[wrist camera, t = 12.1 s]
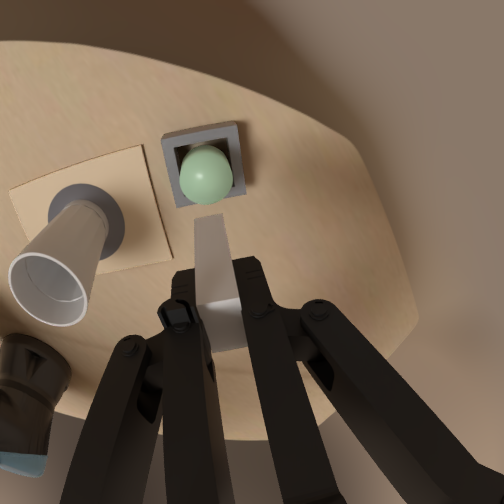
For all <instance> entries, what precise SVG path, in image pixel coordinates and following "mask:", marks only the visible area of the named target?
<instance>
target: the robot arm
mask: <svg viewBox="0 0 504 504" xmlns="http://www.w3.org/2000/svg"><path fill="white" fill-rule="evenodd" d="M194 248H195V268H193V269H187V270H182V271H177V272H176V274H175V275H174V277H173V279H172V286H171V288H172V289H171V299H168V300H167V301H165V302H163V303H162V304H161V306H160V307H159V309H158V312H157V314H158V316H159V318H160V320H161V322H162V325H163V327H164V330H163V331H162V332H161V333H159V334H157V335H155V336H153V337H151V338H148V339H146V340H145V339H144V338H143V337H142V336H139V335H129V336H126V337H124V338H123V339H121V340H120V341H119V342H118V343H117V345H116V346H115V348H114V350H113V353H112V355H111V357H110V360H109V362H108V364H107V367H106V369H105V372H104V374H103V377H102V379H101V381H100V384H99V386H98V389H97V392H96V394H95V397H94V399H93V402H92V404H91V407H90V410H89V412H88V415H87V418H86V421H85V424H84V426H83V429H82V432H81V435H80V438H79V441H78V444H77V447H76V450H75V453H74V456H73V459H72V462H71V465H70V468H69V472H68V475H67V479H66V482H65V485H64V489H63V493H62V496H61V500H60V504H142V502H143V497H144V492H145V488H146V483H147V478H148V474H149V469H150V464H151V461H152V456H153V452H154V448H155V443H156V439H157V435H158V431H159V427H160V423H161V419H162V415H163V446H164V447H163V448H164V468H165V483H166V496H167V504H235V500H234V495H233V489H232V483H231V477H230V471H229V465H228V459H227V453H226V446H225V440H224V433H223V426H222V420H221V412H220V405H219V397H218V390H217V382H216V374H215V365H214V362H213V359H212V356H211V350H212V353H216V352H221V351H227V350H232V349H238V348H243V347H248V348H249V353H250V358H251V363H252V367H253V372H254V377H255V381H256V386H257V391H258V395H259V400H260V404H261V409H262V413H263V418H264V422H265V427H266V431H267V435H268V440H269V444H270V448H271V453H272V457H273V461H274V465H275V470H276V474H277V478H278V482H279V486H280V490H281V494H282V499H283V502H284V504H347V503H346V501H345V499H344V497H343V496H342V495H341V493H340V492H339V489H338V487H337V484H336V481H335V478H334V475H333V472H332V469H331V465H330V463H329V459H328V457H327V453H326V450H325V447H324V444H323V441H322V438H321V435H320V432H319V429H318V426H317V423H316V420H315V417H314V414H313V411H312V408H311V405H310V402H309V399H308V396H307V393H306V390H305V387H304V383H303V380H302V377H301V374H300V371H299V368H298V365H297V363H296V361H302V363H303V364H304V366H305V367H306V369H307V370H308V371H309V373H310V374H311V376H312V377H313V378H314V380H315V381H316V383H317V384H318V385H319V387H320V388H321V390H322V391H323V392H324V394H325V395H326V396H327V398H328V399H329V401H330V402H331V403H332V405H333V406H334V407H335V409H336V410H337V412H338V413H339V414H340V416H341V417H342V418H343V420H344V421H345V423H346V424H347V425H348V427H349V428H350V429H351V430H352V432H353V433H354V435H355V436H356V437H357V439H358V440H359V442H360V443H361V444H362V445H363V447H364V448H365V450H366V451H367V452H368V454H369V455H370V456H371V458H372V459H373V460H374V462H375V463H376V464H377V466H378V467H379V468H380V470H381V471H382V472H383V473H384V475H385V476H386V477H387V479H388V480H389V481H390V483H391V484H392V485H393V487H394V488H395V489H396V490H397V492H398V493H399V494H400V496H401V497H402V498H403V499H404V501H405V502H406V503H407V504H504V475H503V474H501V473H498V472H496V471H494V470H492V469H490V468H487V467H485V466H483V465H481V464H479V463H478V462H477V461H476V460H475V459H474V458H473V457H472V455H471V454H470V453H469V452H468V451H467V450H466V448H465V447H464V446H463V445H462V444H461V443H460V442H459V440H458V439H457V438H456V437H455V436H454V435H453V434H452V433H451V431H450V430H449V429H448V428H447V427H446V426H445V425H444V423H443V422H442V421H441V420H440V419H439V418H438V417H437V416H436V414H435V413H434V412H433V411H432V410H431V409H430V408H429V407H428V406H427V404H426V403H425V402H424V401H423V400H422V399H421V398H420V397H419V395H417V393H416V392H415V391H414V390H413V389H412V388H411V387H410V386H409V384H408V383H407V382H406V381H405V380H404V379H403V378H402V377H401V376H400V375H399V373H398V372H397V371H396V370H395V369H394V368H393V367H392V366H391V365H390V364H389V363H388V362H387V360H386V359H385V358H384V357H383V356H382V355H381V354H380V353H379V352H378V351H377V350H376V349H375V348H374V346H373V345H372V344H371V343H370V342H369V341H368V340H367V339H366V338H365V337H364V336H363V335H362V334H361V333H360V331H359V330H358V329H357V328H356V327H355V326H354V325H353V324H352V323H351V322H350V321H349V320H348V319H347V318H346V317H345V316H344V315H343V313H342V312H341V311H340V310H339V309H338V308H337V307H336V306H335V305H334V304H332V303H331V302H329V301H326V300H323V299H315V300H312V301H309V302H307V303H306V304H304V305H303V307H302V308H301V309H287V308H283V307H281V306H279V305H277V304H276V303H275V302H274V300H273V298H272V296H271V293H270V290H269V287H268V284H267V281H266V278H265V275H264V272H263V269H262V266H261V263H260V261H259V260H258V259H256V258H255V257H254V256H250V257H245V258H240V259H235V260H232V259H231V254H230V249H229V244H228V239H227V234H226V229H225V224H224V219H223V213H222V214H217V215H211V216H206V217H201V218H196V219H194ZM70 379H71V370H70V367H69V365H68V364H67V362H66V361H65V360H64V358H63V357H62V356H61V355H60V354H59V353H57V352H56V351H55V350H54V349H52V348H51V347H50V346H48V345H46V344H45V343H43V342H41V341H39V340H37V339H35V338H32V337H29V336H26V335H21V334H11V335H8V336H7V337H5V338H4V340H3V342H2V345H1V347H0V468H2V469H4V470H7V471H10V472H13V473H16V474H20V475H23V476H28V477H35V478H36V477H40V476H42V475H43V473H44V470H45V465H46V460H47V458H48V456H47V453H48V445H49V438H50V431H51V425H52V419H53V414H54V409H55V406H56V405H57V403H58V402H59V400H60V398H61V397H62V395H63V392H65V391H66V390H67V388H68V386H69V383H70Z"/></svg>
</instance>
